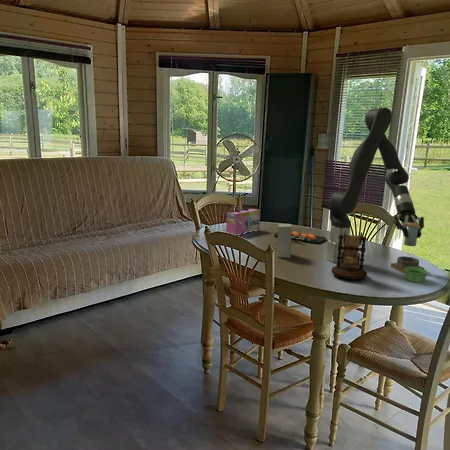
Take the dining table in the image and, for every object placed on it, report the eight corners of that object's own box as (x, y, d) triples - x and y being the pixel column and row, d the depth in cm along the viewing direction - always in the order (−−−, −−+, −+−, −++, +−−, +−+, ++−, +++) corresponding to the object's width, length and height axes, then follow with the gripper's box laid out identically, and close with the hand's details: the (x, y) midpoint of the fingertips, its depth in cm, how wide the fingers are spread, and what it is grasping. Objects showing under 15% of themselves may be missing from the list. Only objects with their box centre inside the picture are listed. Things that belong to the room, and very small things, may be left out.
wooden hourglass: (364, 272, 182) (369, 229, 178) (368, 284, 168) (373, 237, 164) (330, 269, 185) (334, 226, 181) (331, 280, 171) (335, 234, 167)
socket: (406, 274, 181) (407, 263, 180) (390, 267, 190) (391, 257, 189) (423, 272, 185) (425, 261, 184) (407, 265, 194) (408, 255, 193)
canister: (409, 246, 182) (412, 224, 180) (400, 243, 187) (403, 222, 185) (419, 245, 184) (422, 224, 181) (410, 242, 189) (412, 221, 186)
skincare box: (290, 258, 200) (292, 227, 196) (275, 257, 201) (277, 226, 198) (291, 253, 208) (293, 223, 204) (277, 252, 209) (278, 222, 206)
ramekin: (428, 279, 175) (430, 270, 174) (422, 285, 169) (423, 275, 168) (407, 274, 181) (408, 265, 180) (400, 279, 175) (401, 270, 174)
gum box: (251, 228, 262) (252, 207, 259) (261, 230, 257) (262, 209, 254) (225, 234, 246) (226, 211, 243) (235, 236, 240) (236, 213, 237)
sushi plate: (327, 240, 239) (328, 234, 238) (308, 252, 214) (309, 245, 213) (282, 233, 254) (282, 227, 253) (259, 243, 229) (259, 236, 228)
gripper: (392, 200, 188) (400, 232, 179) (423, 201, 189) (432, 233, 179) (386, 209, 194) (394, 240, 185) (416, 210, 195) (425, 241, 186)
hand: (413, 236), depth 182 cm, fingers closed on canister, 5 cm apart
